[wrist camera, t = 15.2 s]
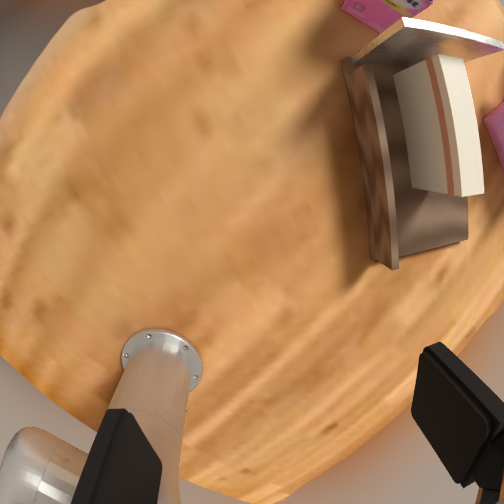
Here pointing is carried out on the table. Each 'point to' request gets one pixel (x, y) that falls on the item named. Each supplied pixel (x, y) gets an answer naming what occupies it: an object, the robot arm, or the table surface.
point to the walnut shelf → (395, 173)
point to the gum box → (384, 11)
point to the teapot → (496, 130)
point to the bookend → (423, 44)
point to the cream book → (440, 127)
